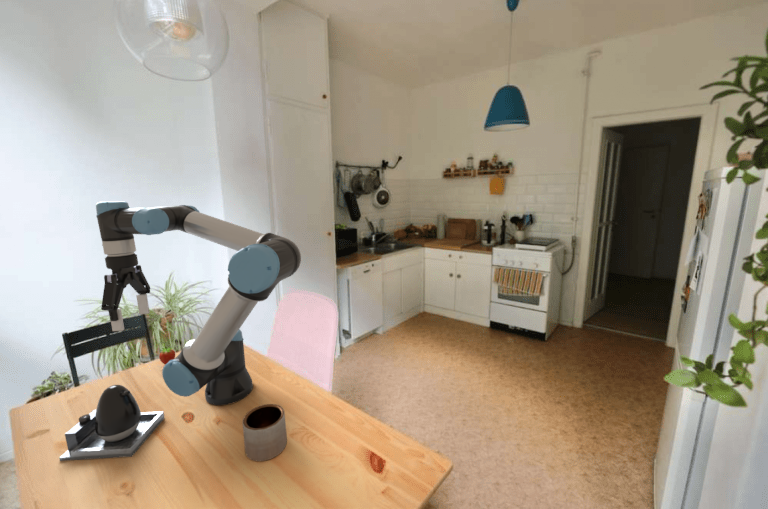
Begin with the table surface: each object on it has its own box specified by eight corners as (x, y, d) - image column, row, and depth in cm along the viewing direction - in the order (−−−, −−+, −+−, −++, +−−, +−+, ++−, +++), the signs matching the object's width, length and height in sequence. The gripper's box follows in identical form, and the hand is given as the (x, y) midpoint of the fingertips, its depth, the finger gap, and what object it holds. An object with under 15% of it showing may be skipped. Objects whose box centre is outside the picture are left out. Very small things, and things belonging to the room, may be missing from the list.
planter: (247, 469, 84) (243, 436, 82) (243, 441, 93) (240, 410, 91) (291, 453, 88) (288, 421, 87) (283, 428, 98) (280, 399, 96)
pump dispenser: (119, 450, 89) (109, 399, 86) (88, 445, 91) (77, 395, 88) (152, 424, 98) (145, 378, 96) (123, 420, 101) (115, 374, 98)
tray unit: (164, 418, 103) (161, 397, 101) (131, 456, 88) (127, 432, 87) (103, 421, 101) (99, 400, 100) (59, 460, 87) (54, 436, 85)
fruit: (164, 370, 131) (161, 351, 129) (158, 366, 134) (155, 348, 132) (179, 364, 135) (176, 345, 134) (172, 360, 138) (170, 342, 136)
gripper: (131, 247, 110) (141, 308, 114) (74, 263, 85) (90, 340, 89) (156, 246, 111) (165, 306, 115) (106, 261, 86) (120, 337, 90)
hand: (132, 321), depth 102 cm, fingers open, 13 cm apart
